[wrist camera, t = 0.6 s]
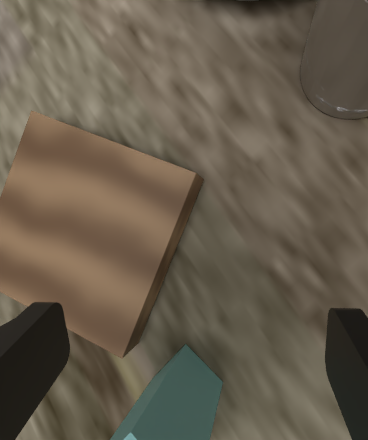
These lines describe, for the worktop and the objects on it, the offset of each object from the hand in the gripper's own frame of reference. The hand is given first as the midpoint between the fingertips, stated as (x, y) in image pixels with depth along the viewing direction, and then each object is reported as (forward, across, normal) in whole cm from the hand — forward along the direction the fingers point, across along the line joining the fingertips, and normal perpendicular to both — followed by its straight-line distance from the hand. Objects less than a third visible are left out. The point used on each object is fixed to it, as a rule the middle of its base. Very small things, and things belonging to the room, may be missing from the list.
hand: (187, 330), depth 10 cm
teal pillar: (+17, +3, +18) cm, 25 cm away
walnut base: (+23, +13, +4) cm, 27 cm away
